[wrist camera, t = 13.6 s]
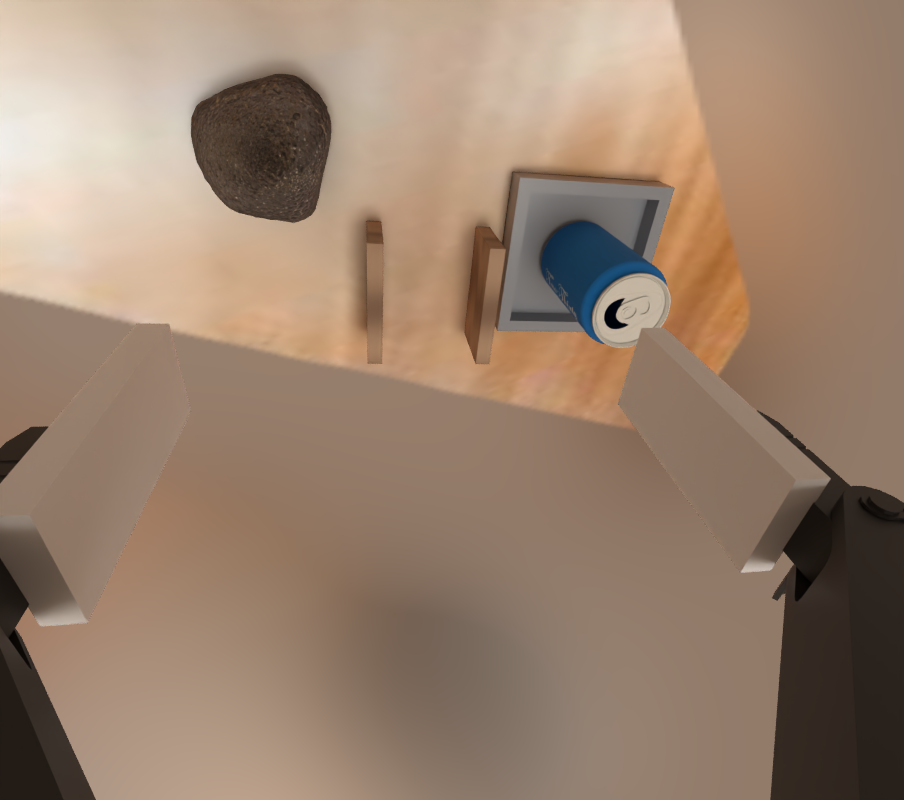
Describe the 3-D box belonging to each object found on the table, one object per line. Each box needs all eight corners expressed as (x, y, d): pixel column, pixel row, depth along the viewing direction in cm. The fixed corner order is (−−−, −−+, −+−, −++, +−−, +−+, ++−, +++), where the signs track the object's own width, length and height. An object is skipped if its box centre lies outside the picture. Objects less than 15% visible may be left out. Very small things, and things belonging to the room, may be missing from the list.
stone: (248, 204, 43) (333, 256, 40) (152, 171, 35) (247, 232, 32) (290, 85, 40) (385, 131, 37) (196, 20, 32) (306, 71, 29)
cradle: (366, 221, 42) (366, 243, 37) (489, 227, 43) (505, 249, 38) (367, 331, 47) (367, 363, 42) (476, 333, 49) (489, 364, 44)
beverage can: (531, 234, 44) (580, 287, 34) (603, 207, 43) (674, 253, 33) (546, 300, 47) (593, 365, 37) (613, 276, 47) (678, 335, 37)
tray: (512, 171, 41) (520, 177, 39) (660, 181, 43) (674, 187, 41) (491, 319, 48) (497, 330, 46) (619, 321, 50) (630, 332, 48)
